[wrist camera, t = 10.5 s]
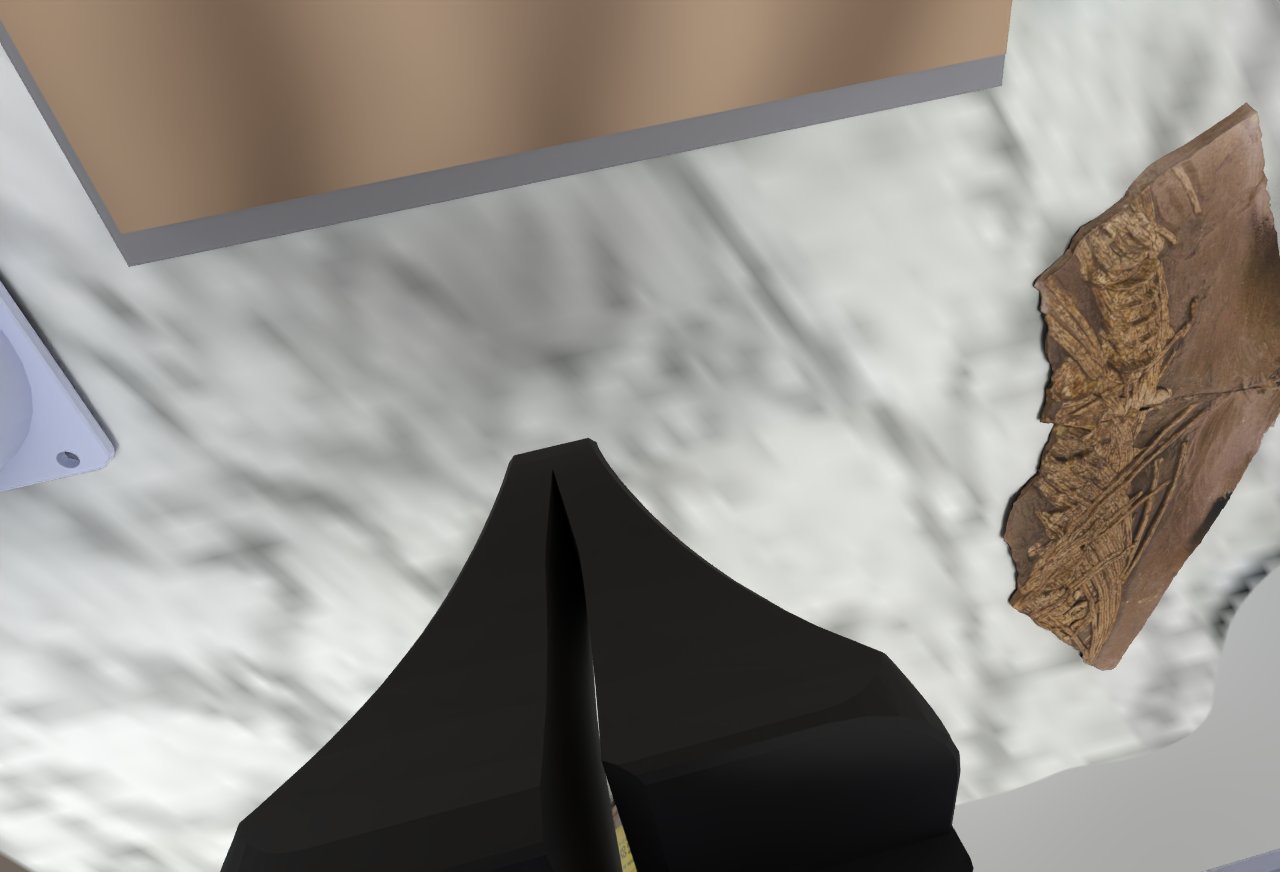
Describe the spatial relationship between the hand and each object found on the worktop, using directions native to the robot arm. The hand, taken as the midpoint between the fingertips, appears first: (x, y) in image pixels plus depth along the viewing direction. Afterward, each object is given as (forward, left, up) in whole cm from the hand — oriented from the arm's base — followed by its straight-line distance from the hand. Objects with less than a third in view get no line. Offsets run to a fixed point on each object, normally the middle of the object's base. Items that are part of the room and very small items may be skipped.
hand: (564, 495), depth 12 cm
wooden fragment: (+21, -12, -10) cm, 26 cm away
